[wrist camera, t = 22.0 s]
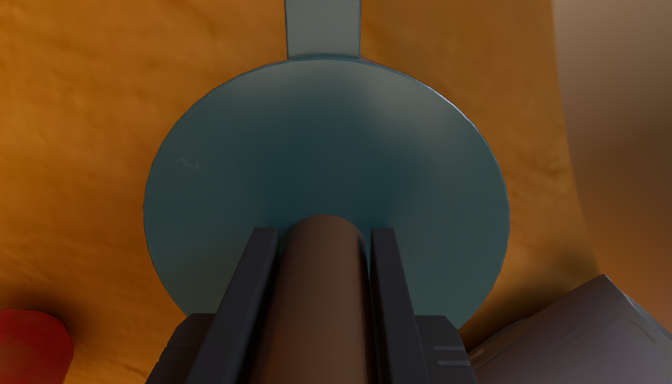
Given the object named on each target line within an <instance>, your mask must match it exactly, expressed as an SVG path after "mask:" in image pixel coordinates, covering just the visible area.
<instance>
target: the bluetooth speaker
mask: <svg viewBox="0 0 672 384" xmlns="http://www.w3.org/2000/svg"><path fill="white" fill-rule="evenodd" d="M467 355H468V358H469V361H470V366H472V369H473V371H474V374H475V377H476V380H477V382H478V384H672V335H671V334H670V333H669V332H668V331H667V330H666V329H665V328H664V327H663V326H662V325H661V324H659V323H658V322H657V321H656V320H655V319H654V318H653V317H652V316H651V315H650V314H649V313H647V312H646V311H645V310H644V309H643V308H642V307H641V306H640V305H639V304H637V303H636V302H635V301H634V300H632V299H631V298H630V297H628V296H627V295H625V294H624V293H623V292H622V291H621V290H620V289H619V288H618V287H617V286H616V285H615V284H614V283H613V282H612V281H611V280H610V279H609V278H608V277H607V276H606V275H605V274H602V275H600V276H598V277H596V278H594V279H592V280H590V281H588V282H587V283H585V284H583V285H581V286H579V287H577V288H576V289H574V290H572V291H571V292H569V293H567V294H566V295H564V296H563V297H561V298H559V299H558V300H556V301H555V302H553V303H552V304H550V305H549V306H547V307H546V308H544V309H543V310H541V311H539V312H538V313H536V314H535V315H533V316H530V317H529V318H523V319H520V320H518V321H516V322H514V323H512V324H510V325H508V326H506V327H505V328H503V329H502V330H500V331H498V332H497V333H495V334H494V335H492V336H491V337H490V338H488V339H487V340H485V341H484V342H483V343H481V344H480V345H479V346H477V347H476V348H475V349H473V350H472V351H470V352H469V353H468V354H467Z"/></svg>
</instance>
